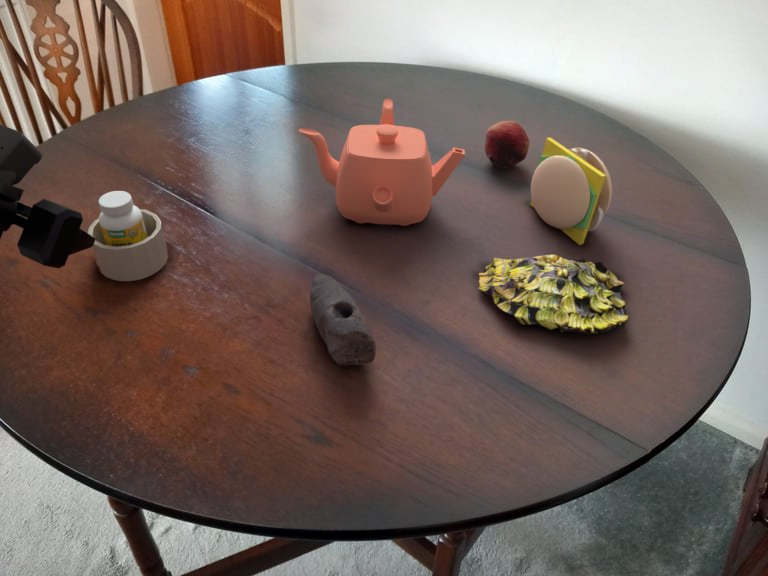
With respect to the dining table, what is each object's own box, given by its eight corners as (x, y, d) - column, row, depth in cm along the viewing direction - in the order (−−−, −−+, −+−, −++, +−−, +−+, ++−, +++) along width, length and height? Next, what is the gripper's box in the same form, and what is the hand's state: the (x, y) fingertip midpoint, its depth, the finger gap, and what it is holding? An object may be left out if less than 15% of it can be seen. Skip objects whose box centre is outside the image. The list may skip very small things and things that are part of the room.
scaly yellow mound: (465, 324, 81) (467, 278, 78) (486, 277, 95) (488, 237, 92) (628, 345, 75) (636, 296, 72) (624, 292, 89) (631, 249, 87)
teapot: (301, 203, 99) (297, 123, 90) (384, 166, 109) (388, 90, 100) (379, 258, 89) (384, 174, 80) (462, 211, 99) (475, 132, 90)
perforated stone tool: (299, 301, 81) (297, 260, 77) (337, 293, 83) (337, 252, 78) (336, 385, 71) (336, 343, 67) (378, 373, 73) (381, 332, 68)
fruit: (523, 156, 114) (532, 116, 108) (526, 178, 108) (535, 136, 103) (480, 152, 114) (487, 112, 109) (481, 174, 108) (489, 132, 103)
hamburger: (609, 235, 96) (633, 167, 88) (568, 248, 93) (589, 179, 85) (558, 196, 104) (576, 130, 96) (519, 207, 101) (534, 141, 93)
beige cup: (95, 285, 82) (84, 252, 78) (101, 243, 89) (91, 211, 85) (167, 276, 84) (160, 244, 80) (168, 236, 90) (161, 205, 87)
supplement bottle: (149, 242, 88) (134, 184, 82) (155, 264, 85) (140, 205, 78) (109, 250, 87) (90, 191, 80) (113, 273, 83) (94, 214, 77)
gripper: (36, 141, 56) (150, 189, 71) (-94, 91, 62) (35, 146, 77) (-10, 255, 56) (113, 280, 70) (-137, 194, 62) (1, 229, 76)
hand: (65, 230), depth 73 cm, fingers open, 9 cm apart
